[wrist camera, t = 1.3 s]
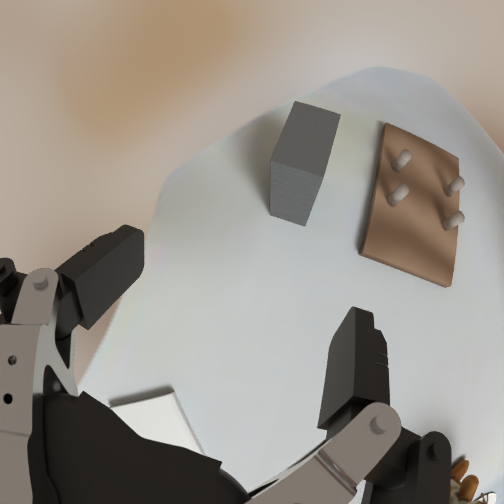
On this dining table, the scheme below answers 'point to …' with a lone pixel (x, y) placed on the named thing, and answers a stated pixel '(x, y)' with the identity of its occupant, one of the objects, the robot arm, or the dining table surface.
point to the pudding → (489, 498)
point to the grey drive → (301, 161)
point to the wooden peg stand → (414, 208)
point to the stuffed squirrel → (463, 486)
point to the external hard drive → (160, 421)
